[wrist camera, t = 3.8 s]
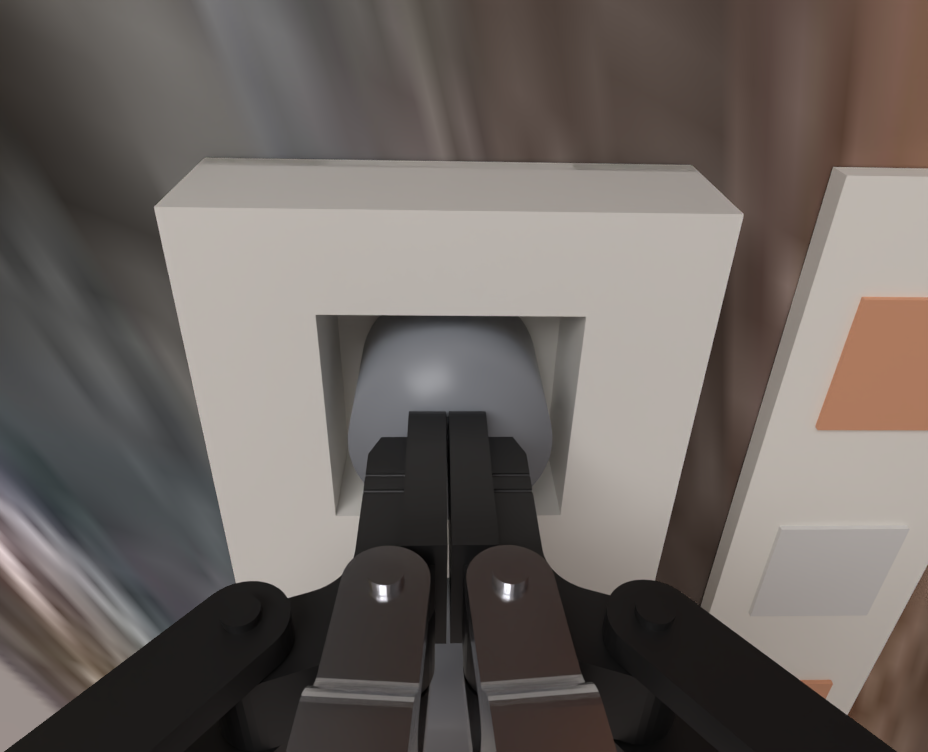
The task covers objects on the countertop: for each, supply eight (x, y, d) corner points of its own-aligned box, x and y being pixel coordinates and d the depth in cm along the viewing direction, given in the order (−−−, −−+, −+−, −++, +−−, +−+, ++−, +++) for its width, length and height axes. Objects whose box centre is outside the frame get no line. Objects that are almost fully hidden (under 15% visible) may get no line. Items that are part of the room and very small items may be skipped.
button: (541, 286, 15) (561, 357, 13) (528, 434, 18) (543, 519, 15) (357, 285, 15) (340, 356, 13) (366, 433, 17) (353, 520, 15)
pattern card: (1109, 171, 15) (1139, 182, 14) (805, 765, 27) (814, 785, 27) (833, 167, 15) (850, 178, 14) (651, 767, 27) (656, 787, 26)
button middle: (525, 560, 18) (539, 664, 15) (516, 659, 20) (526, 764, 18) (368, 560, 18) (356, 665, 15) (374, 660, 20) (365, 767, 17)
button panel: (691, 164, 15) (744, 214, 12) (574, 769, 27) (587, 856, 24) (204, 157, 14) (153, 207, 12) (310, 773, 27) (297, 862, 24)
